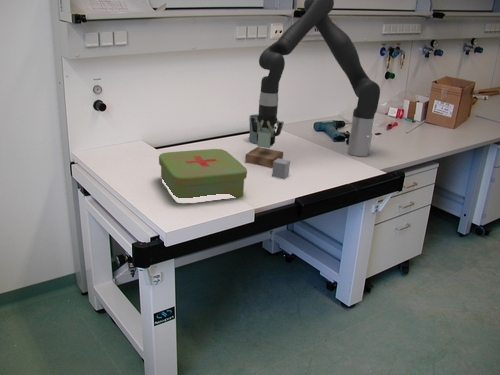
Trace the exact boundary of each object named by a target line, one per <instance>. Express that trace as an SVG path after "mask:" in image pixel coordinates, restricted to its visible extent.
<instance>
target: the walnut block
mask: <svg viewBox="0 0 500 375" xmlns="http://www.w3.org/2000/svg"><path fill="white" fill-rule="evenodd" d="M278 158H279V159H284V151H281V150H275V149H271V148H264V147H259V146H257V147H254V148H253V149H251V150H250V151H249V152H247V153H246V154H245V164H250V165H256V166H261V167H266V168H269V169H273V162H274V161H275V160H276V159H278Z"/></svg>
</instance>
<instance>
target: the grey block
mask: <svg viewBox="0 0 500 375" xmlns="http://www.w3.org/2000/svg"><path fill="white" fill-rule="evenodd" d="M290 166H291V161H290V160H289V159H285V158H283V159H279V158H278V159H276V160H275V161H274V162H273V168H272V172H271V173H272V174H271V175H272V177H274V178H279V179H283V180H285V179H286V178H287V177H288V176H289V175H290V174H289V173H290Z"/></svg>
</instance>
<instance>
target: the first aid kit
mask: <svg viewBox="0 0 500 375" xmlns="http://www.w3.org/2000/svg"><path fill="white" fill-rule="evenodd" d="M158 164H159V166H160V174H161V176H160V178H161V177H162V179H163V180H164V182H165V183H166V185H167V186H168V187H169V189H170V190H171V192H172V193H173V195H175V196H176V197H178V198H193V197H200V196H207V195H216V194H230V195H232V196H234V197H236V199H240V198H243V196H244V187H245V180H246V179H247V174H248V170H247V167H245V166H244V165H243V164H242V163H241V162H240V161H239V160H238V159H236V158H235V157H234V155H232V154H231V153H230V152H228V151H227V150H225V149H222V148H208V149H207V148H206V149H196V150H194V149H193V150H183V151H182V150H181V151H168V152H163V153H160V154H159V156H158Z"/></svg>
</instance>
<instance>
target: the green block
mask: <svg viewBox="0 0 500 375" xmlns="http://www.w3.org/2000/svg"><path fill="white" fill-rule="evenodd" d="M270 140H271V133H270V131H269V130H261V131H260V132H258V144H256V145H257V147H261V148H266V149H271V147H273V146H274V144H273V145H270Z"/></svg>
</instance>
